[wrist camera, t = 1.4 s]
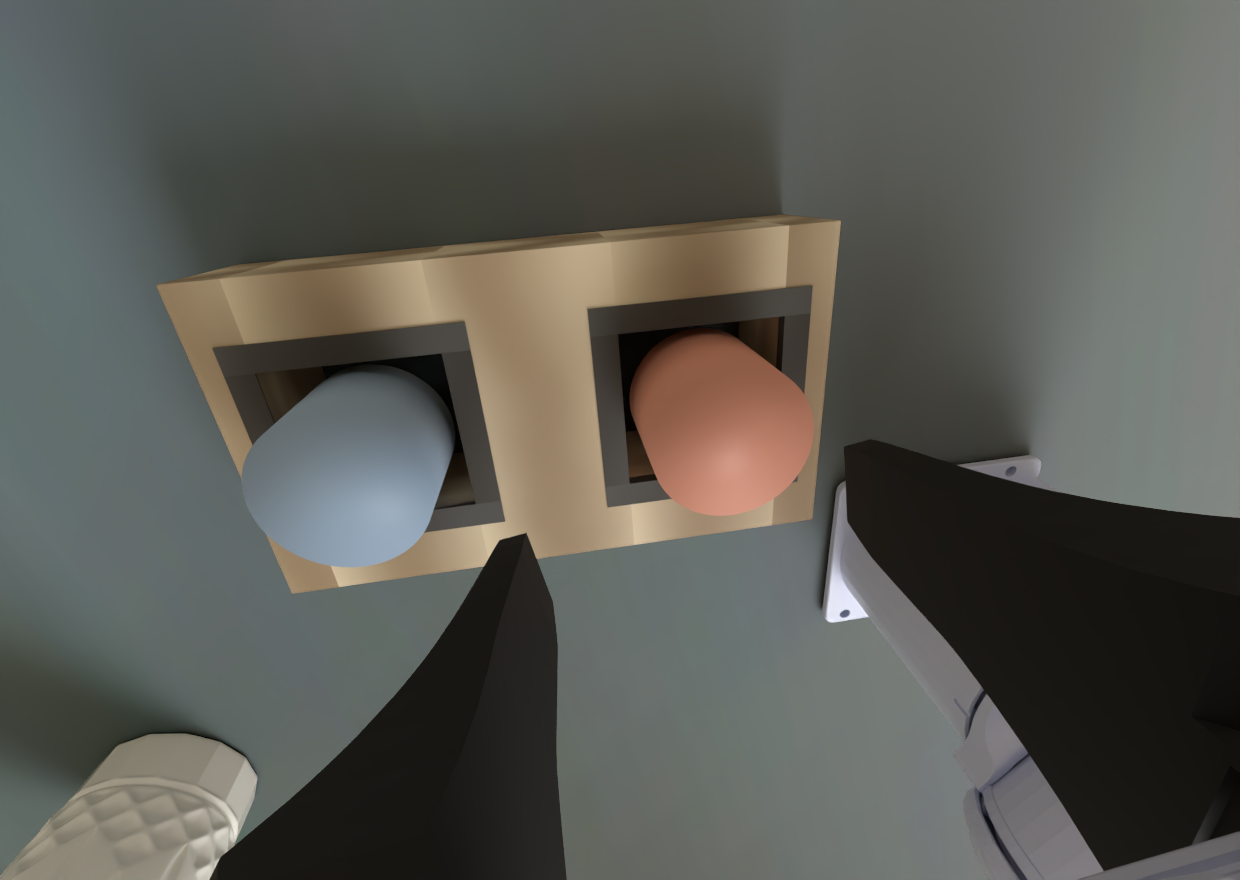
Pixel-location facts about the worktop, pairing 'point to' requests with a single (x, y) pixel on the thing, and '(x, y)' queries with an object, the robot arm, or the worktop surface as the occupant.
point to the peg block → (519, 368)
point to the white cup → (146, 815)
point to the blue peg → (352, 467)
